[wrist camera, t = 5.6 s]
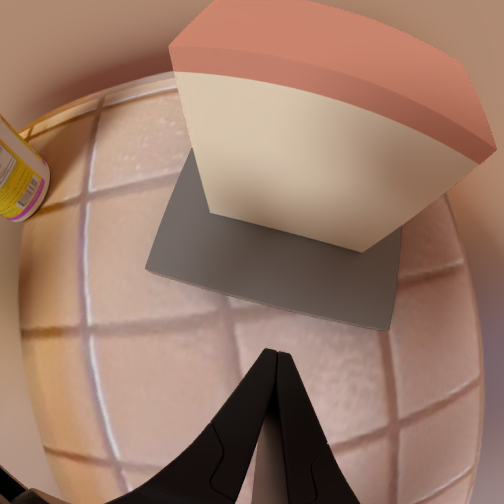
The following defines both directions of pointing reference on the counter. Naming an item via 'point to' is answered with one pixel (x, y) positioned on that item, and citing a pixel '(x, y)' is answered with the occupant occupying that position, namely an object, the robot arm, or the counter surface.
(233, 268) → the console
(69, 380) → the counter surface
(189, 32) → the key
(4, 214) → the supplement bottle
